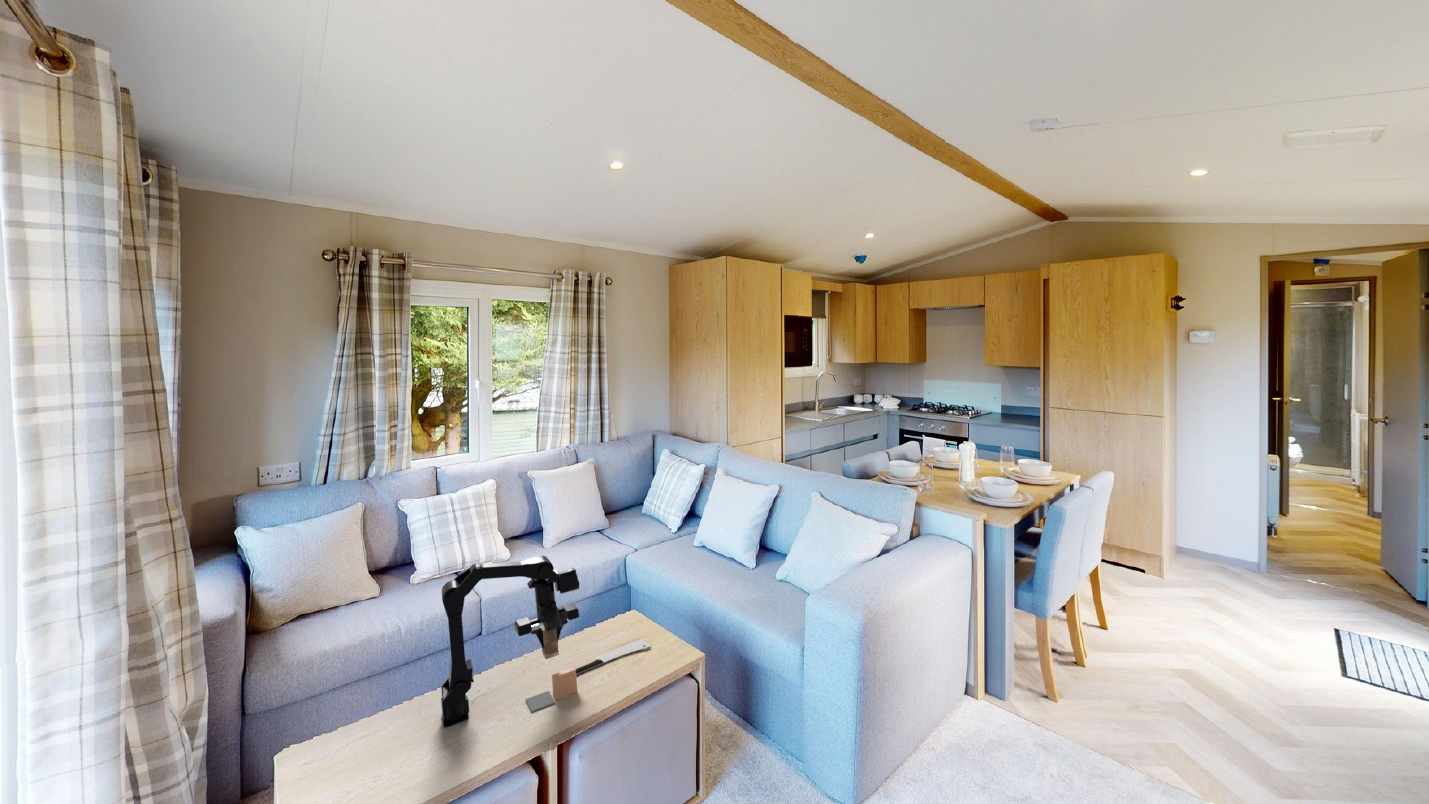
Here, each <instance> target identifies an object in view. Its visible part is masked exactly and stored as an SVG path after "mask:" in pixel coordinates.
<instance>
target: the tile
mask: <svg viewBox="0 0 1429 804" xmlns="http://www.w3.org/2000/svg"><path fill="white" fill-rule="evenodd" d="M576 669H577V668H575V667H571V668H568V669H565V670H562V671H559V672H556V673H554V674H552V675H551V683H552V685H551V686H552V698H553V700H557V699H559V698H562V697H565V696H568V695H570V694H573V693H576V692H578V684H577V675H576Z"/></svg>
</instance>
